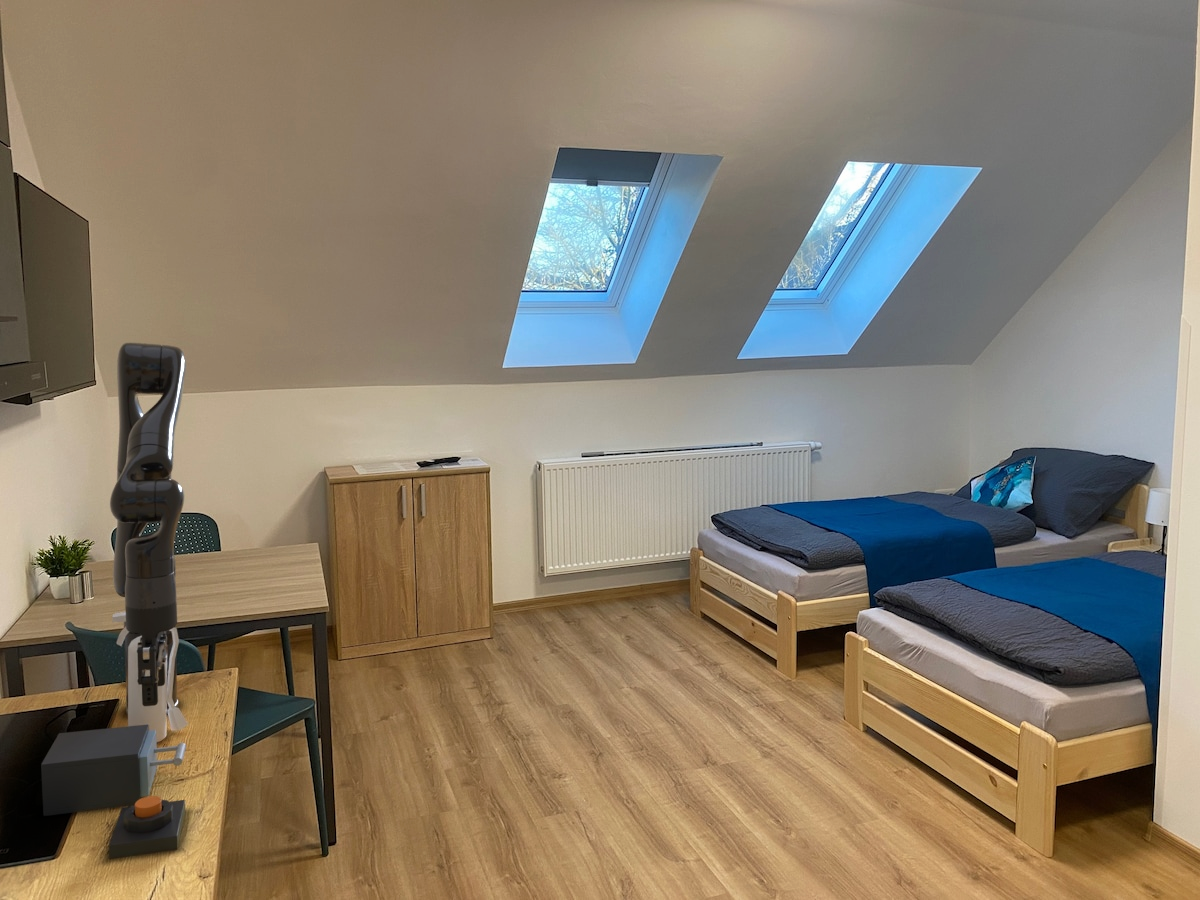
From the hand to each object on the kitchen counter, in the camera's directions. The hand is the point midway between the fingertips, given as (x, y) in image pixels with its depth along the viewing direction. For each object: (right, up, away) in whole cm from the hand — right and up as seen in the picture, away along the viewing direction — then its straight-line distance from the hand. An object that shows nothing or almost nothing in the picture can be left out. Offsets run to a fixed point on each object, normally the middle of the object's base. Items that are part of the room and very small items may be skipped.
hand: (154, 695), depth 148 cm
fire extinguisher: (-10, -14, +20) cm, 27 cm away
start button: (+5, -14, -12) cm, 20 cm away
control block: (+5, -18, -12) cm, 22 cm away
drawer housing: (-9, -16, 0) cm, 18 cm away
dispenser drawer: (-5, -15, +1) cm, 16 cm away
